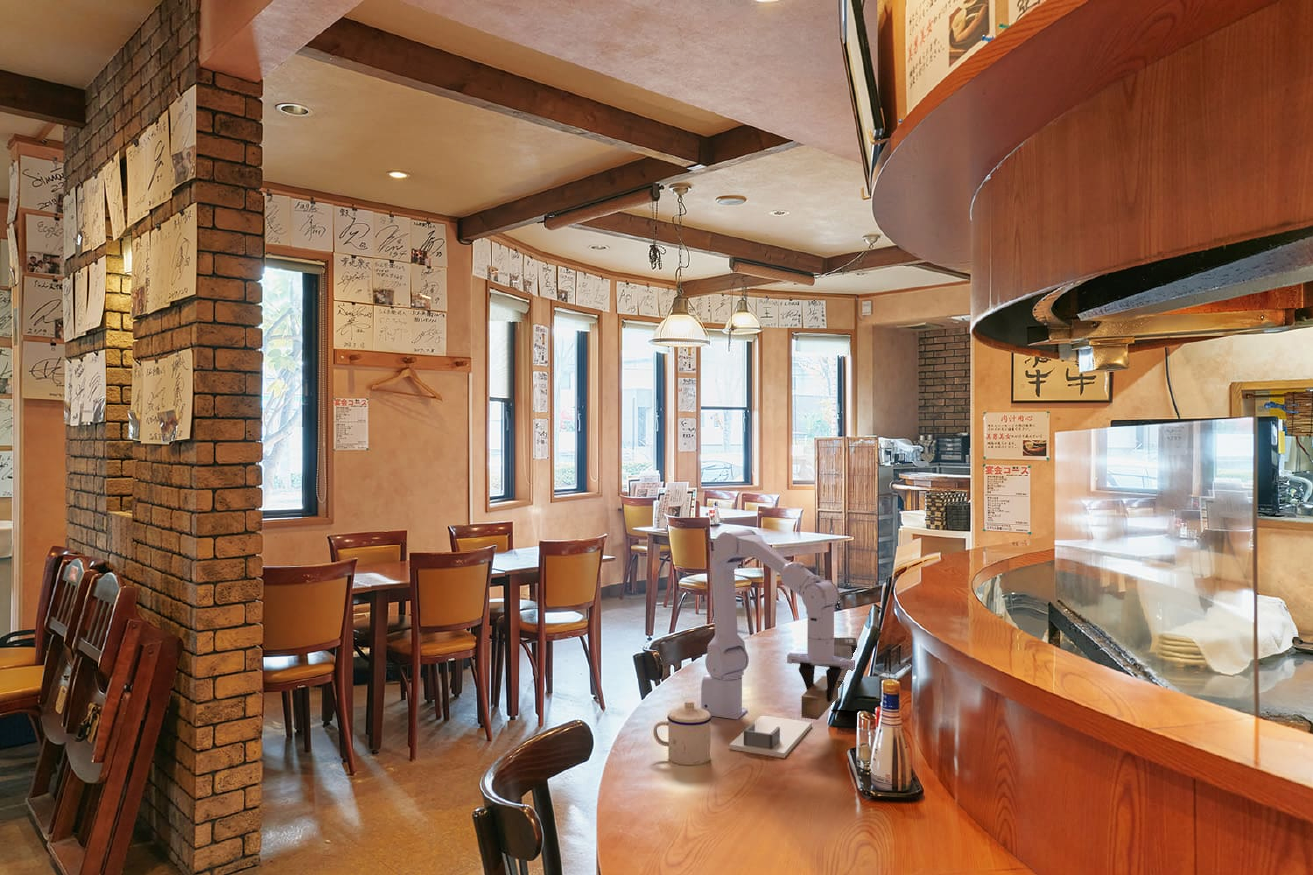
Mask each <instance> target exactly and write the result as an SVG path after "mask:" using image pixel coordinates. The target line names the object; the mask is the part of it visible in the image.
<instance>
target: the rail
mask: <svg viewBox="0 0 1313 875" xmlns="http://www.w3.org/2000/svg"><path fill="white" fill-rule="evenodd" d="M837 698H838V680H837V682H836V685H835V689H834V693H833V699H832V701H831V702H827V675H822V676H820V678H818V680H817V681H816V682H814V685H813V686H812V687H811V688H809V689H808V690H807V689H806V691H805V692H804V693H803V694H802V695H801V708H800V709H801V711H800V712H801V719H807V720H808V719H810V720H814V721H815V720H819V719H820V718H821V717H822V716H823V715H824V714H825V712H826V711H827V710H828V709H829V708H831V705H832V703H833V702H834V701H835V700H836V699H837Z"/></svg>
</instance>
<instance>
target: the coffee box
mask: <svg viewBox="0 0 1313 875" xmlns="http://www.w3.org/2000/svg"><path fill="white" fill-rule="evenodd" d="M856 648H857V649H858V642H857V637H834V656H836V657H841V658H846V659H852V657H853V653H854V652H855V650H856ZM847 671H848V669H842V671H841V673H840V675H839V678H838V688H839V687H840V685H841V684H842V682H843V680H844V677H845V675H846V673H847Z"/></svg>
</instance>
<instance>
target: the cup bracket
mask: <svg viewBox="0 0 1313 875" xmlns="http://www.w3.org/2000/svg"><path fill="white" fill-rule="evenodd" d="M812 728H813V722H812V721H811V722H810V721H804V720H798V719H792V718H791V719H790V718H785V717H784V718H782V717H776V716H769V715H760V716H758V718H756V720H755V721H754V722H752V723H751V724H750V725H748V727H746V728H745V729H744V730H743V731H742V733H740V734H739V735H738V736H737V737H736V738H735V739H734V740H732V741H731V742H730V743H729V744H728V745H729V747H728V749H729V750H733V751H739V752H745V753H750V754H751V753H752V754H757V755H763V756H771V757H776V758H781V759H783V758H784V759H785V758H786V756H787V755H788V754H789V753H790V752H791V751H792V750H793V749H794V748H795V746H797V744H798V743H799V742H800V741H801V740H802V739H803V738H804V736H805V735H806V734H807V731H808V732H809V731H810V730H811V729H812Z"/></svg>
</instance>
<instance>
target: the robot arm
mask: <svg viewBox="0 0 1313 875" xmlns="http://www.w3.org/2000/svg"><path fill="white" fill-rule="evenodd" d="M712 542H713V554H712V558H711V561H710V569H711V583H712V584H711V587H712V589H711V590H712V600H713V601H712V605H713V623H714V624H713V626H714V636H713V637H712V639H711V640H710V641H709V643H708V644H707V653H706V657H705V661H704V663H705V668H706V671H707V672H708V673H706V674H704V676H703V678H702V681H701V686H700V692H701V693H700V708H701V709H704V710H706V711H708V712H709V713H710V714H711V717H718V718H723V719H724V718H726V719H733V720H738V719H739V718H741V717H742V716H743V715H744V714H745V713H746V712H748V708H747V707H743V675H745V674H744V673H745V670H746V669H747V667H748V666H749V662H750V661H749V658H750V657H749V654H748V652H747V649H746V643H745V640H744V639H743V638H742V637H741V636H740V635H739V634H738V632H739V630H738V614H737V596H736V594H737V592H736V580H735V579H736V577H735V574H736V573H735V569H736V568H737V567H738V566H739V565H740V564H741V563H742V562H743V561H745V560H746V559H749V558H754V559H756V560H757V561H759V562H760V563H762V564H763V565H765V566H767V567H768V568H770V569H771V570H773V571H774V572H775V573H777V574H779V575H780V576H779V577H780V581H781V583H783V585H785V586H786V587H788V589H790V590H791V591H793V593H795V594H797V595H798V596H799V597H801V601H802V602H803V605H804V606H805V610H806V613H805V614H806V615H807V634H806V635H807V637H806V638H807V645H806V646H807V647H806V648H807V653H798V652H797V653H796V652H795V653H794V652H789V653H788V654H787V656H786V662H787V663H786V664H789V665H791V664H798V665H799V667H798V672H799V673H800V676H801V677H802V680H803V683H804V685H805V688H806V691H807V690H808V689H809V688H811V687H812V686H813V685H814V684H815V680H814V679H815V671H816V670H815V669H816V667H825V668H827V670H825V672H826V675H825V676H827V702H831V701H832V699H833V693H834V689H835V685H836V682H837V680H838V678H839V675H840V673H841V671H842V669H848V670H851V671H853V670H854V669H855V660H851V659H846V658H841V657H836V656H834V638H835V605H837V604H838V602H839V600H840V591H839V588H838V587H837V585H836V584H835V583H834V582H833V580H829V579H824V580H823V579H821V576H820V575H818V574H816V575H815V574H814V573H813V572H812V571H810V570H809V569H808V568H806V567H805V564H804V563H803V562H802V561H799V562H798V561H792V562H789V560H787V559H786V558H784V556H782V555H781V554H780V553H778V552H777V551H776V550H775V549H774V548H773V547H772V546H770V544H768V543H767V542H766V541H765V540H764V539H763V537H762V535H760V534H757V532H755V531H754V530H752V529H744V530H739V531H738V530H737V531H723V532H721V533H720V534H719V535H717V536H716V538H715V539H713V541H712Z"/></svg>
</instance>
